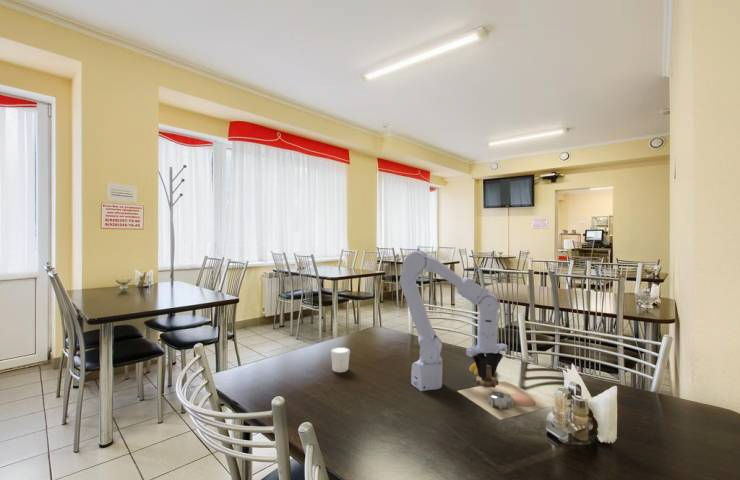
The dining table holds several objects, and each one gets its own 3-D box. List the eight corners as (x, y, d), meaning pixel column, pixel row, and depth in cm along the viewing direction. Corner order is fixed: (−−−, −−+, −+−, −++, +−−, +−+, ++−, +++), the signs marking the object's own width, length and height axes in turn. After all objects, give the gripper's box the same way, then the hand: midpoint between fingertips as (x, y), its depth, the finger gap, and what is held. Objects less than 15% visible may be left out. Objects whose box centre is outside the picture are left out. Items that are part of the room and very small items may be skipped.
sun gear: (500, 412, 96) (500, 401, 96) (483, 401, 102) (483, 391, 102) (518, 408, 98) (518, 397, 98) (500, 397, 104) (501, 387, 104)
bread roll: (480, 381, 119) (480, 369, 119) (466, 371, 127) (466, 360, 127) (501, 379, 121) (501, 367, 121) (486, 369, 130) (486, 358, 129)
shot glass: (348, 373, 123) (349, 353, 123) (329, 372, 124) (329, 353, 123) (350, 365, 130) (350, 347, 130) (331, 365, 130) (332, 346, 130)
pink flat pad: (520, 408, 98) (520, 407, 98) (500, 396, 105) (500, 395, 105) (540, 403, 101) (540, 402, 101) (519, 392, 108) (519, 391, 108)
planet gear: (485, 389, 104) (485, 372, 103) (469, 380, 110) (470, 363, 110) (503, 385, 106) (503, 368, 106) (486, 376, 113) (487, 360, 113)
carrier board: (500, 423, 92) (500, 419, 92) (456, 394, 109) (456, 390, 109) (553, 408, 100) (553, 405, 100) (505, 383, 117) (505, 380, 117)
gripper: (477, 338, 101) (476, 385, 101) (515, 333, 107) (514, 377, 107) (462, 332, 108) (460, 376, 108) (498, 327, 113) (497, 369, 114)
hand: (486, 376), depth 108 cm, fingers closed on planet gear, 3 cm apart
